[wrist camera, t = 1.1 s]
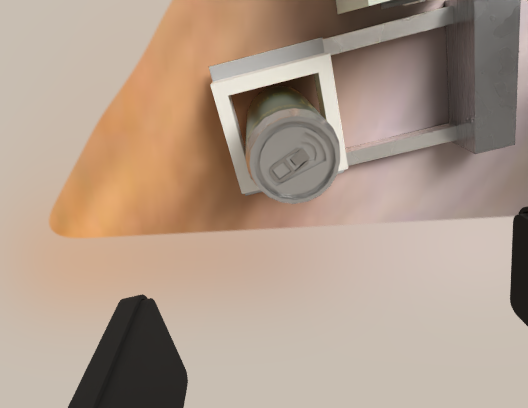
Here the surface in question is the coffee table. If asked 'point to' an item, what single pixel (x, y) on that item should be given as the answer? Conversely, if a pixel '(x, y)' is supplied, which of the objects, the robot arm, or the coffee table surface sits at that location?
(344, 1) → the pale green hollow cube
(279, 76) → the frame
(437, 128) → the rail track
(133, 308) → the robot arm
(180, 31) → the coffee table surface
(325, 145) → the beer can
